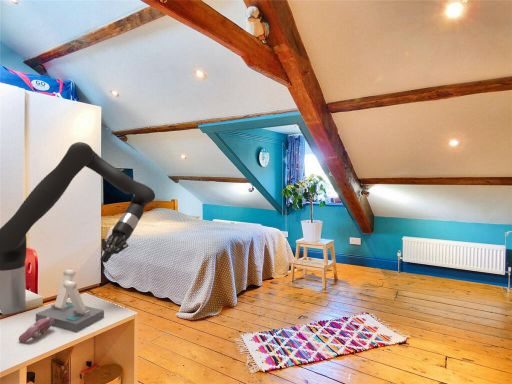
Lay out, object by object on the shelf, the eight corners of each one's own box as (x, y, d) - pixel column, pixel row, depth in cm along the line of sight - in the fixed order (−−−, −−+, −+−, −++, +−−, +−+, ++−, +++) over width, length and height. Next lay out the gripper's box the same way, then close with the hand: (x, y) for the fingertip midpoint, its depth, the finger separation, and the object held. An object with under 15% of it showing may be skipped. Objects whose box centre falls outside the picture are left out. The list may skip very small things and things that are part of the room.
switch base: (35, 321, 117) (35, 309, 117) (65, 308, 128) (65, 297, 128) (76, 332, 110) (76, 319, 110) (103, 317, 121) (103, 306, 121)
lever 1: (52, 307, 120) (64, 268, 124) (58, 307, 122) (69, 269, 126) (59, 309, 119) (71, 270, 123) (65, 309, 121) (76, 270, 125)
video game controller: (27, 348, 102) (35, 331, 101) (16, 341, 103) (24, 323, 102) (51, 333, 112) (59, 317, 111) (41, 326, 113) (49, 310, 112)
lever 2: (75, 314, 117) (62, 283, 111) (80, 309, 119) (67, 279, 113) (83, 316, 116) (69, 284, 110) (88, 311, 118) (75, 280, 112)
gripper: (108, 219, 136) (84, 254, 125) (133, 221, 131) (110, 258, 120) (118, 229, 141) (95, 264, 130) (142, 232, 136) (121, 268, 126)
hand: (103, 261), depth 125 cm, fingers closed
